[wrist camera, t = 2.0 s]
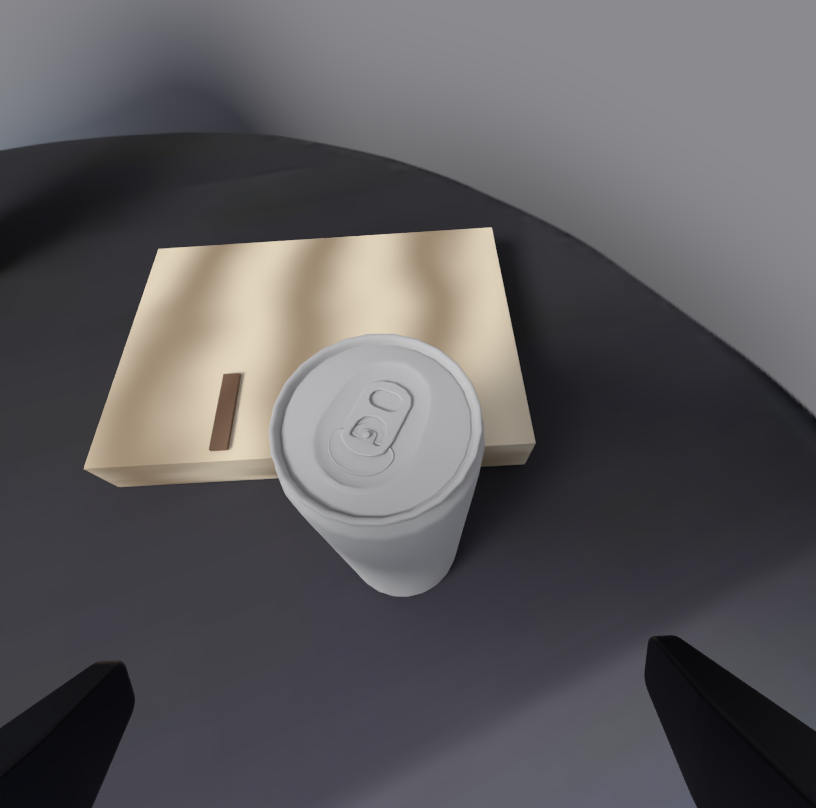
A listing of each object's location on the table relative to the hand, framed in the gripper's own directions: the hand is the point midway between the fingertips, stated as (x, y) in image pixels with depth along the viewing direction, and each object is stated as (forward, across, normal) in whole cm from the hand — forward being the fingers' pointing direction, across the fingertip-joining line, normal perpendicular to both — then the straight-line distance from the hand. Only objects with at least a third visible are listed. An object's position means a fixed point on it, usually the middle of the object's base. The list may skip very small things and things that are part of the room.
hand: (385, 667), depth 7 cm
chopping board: (+19, +4, -2) cm, 19 cm away
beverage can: (+11, 0, +5) cm, 12 cm away
